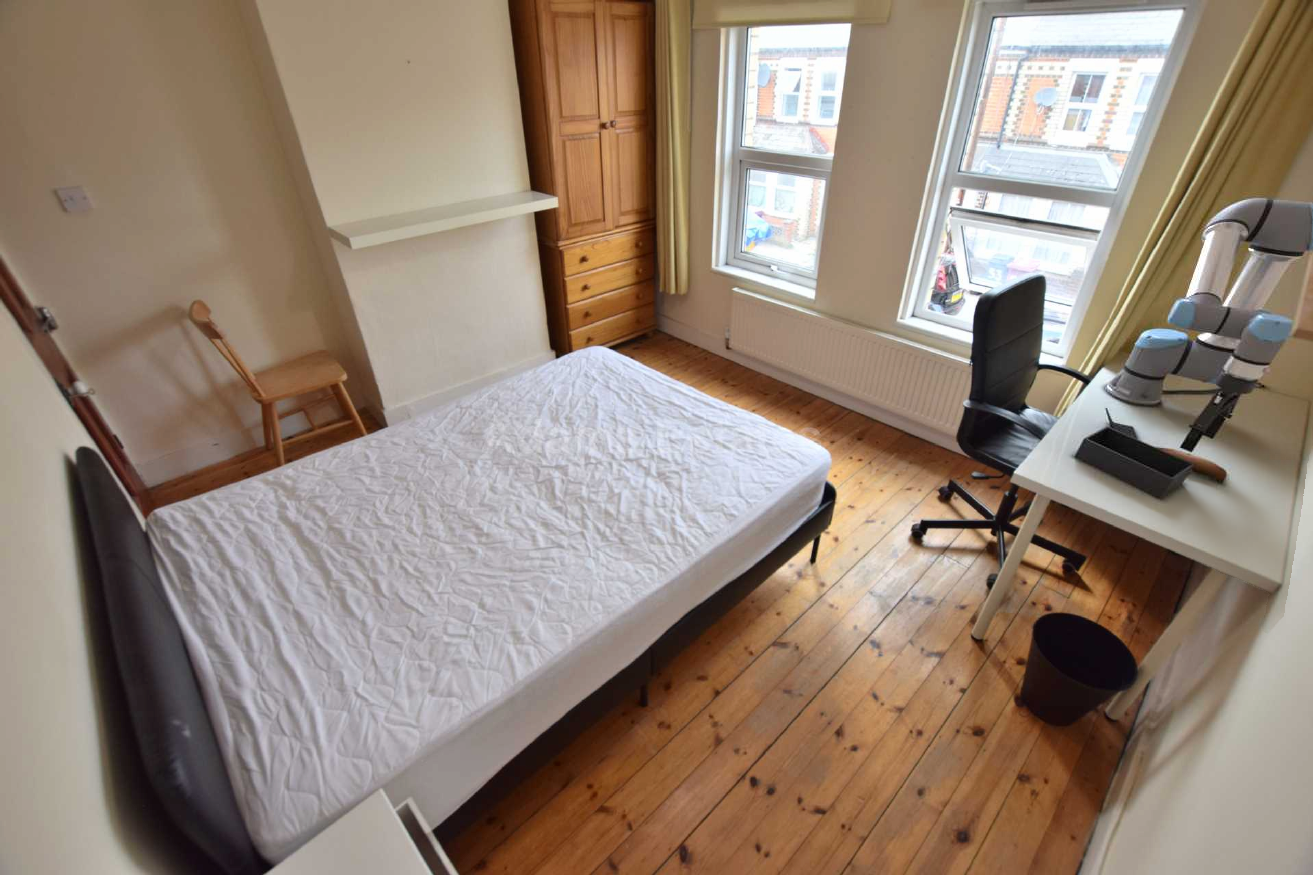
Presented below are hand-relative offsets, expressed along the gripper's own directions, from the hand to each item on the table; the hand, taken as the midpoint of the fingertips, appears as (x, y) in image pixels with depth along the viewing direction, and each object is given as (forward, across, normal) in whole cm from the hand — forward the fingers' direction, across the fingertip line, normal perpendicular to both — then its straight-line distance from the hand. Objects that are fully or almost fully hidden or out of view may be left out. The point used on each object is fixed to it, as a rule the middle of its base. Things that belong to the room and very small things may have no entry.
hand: (1196, 442), depth 161 cm
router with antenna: (+8, +2, +18) cm, 20 cm away
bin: (+8, -16, +7) cm, 19 cm away
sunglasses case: (+8, 0, 0) cm, 8 cm away
